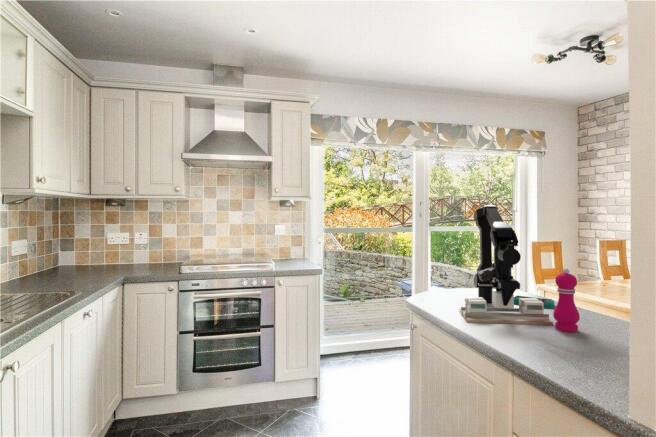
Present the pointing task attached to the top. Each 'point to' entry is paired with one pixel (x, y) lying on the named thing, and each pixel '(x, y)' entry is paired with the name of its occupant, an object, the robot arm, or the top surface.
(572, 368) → the top surface
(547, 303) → the digital multimeter
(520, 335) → the top surface
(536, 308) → the rail panel
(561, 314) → the pepper mill
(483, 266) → the robot arm
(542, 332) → the top surface
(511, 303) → the block
